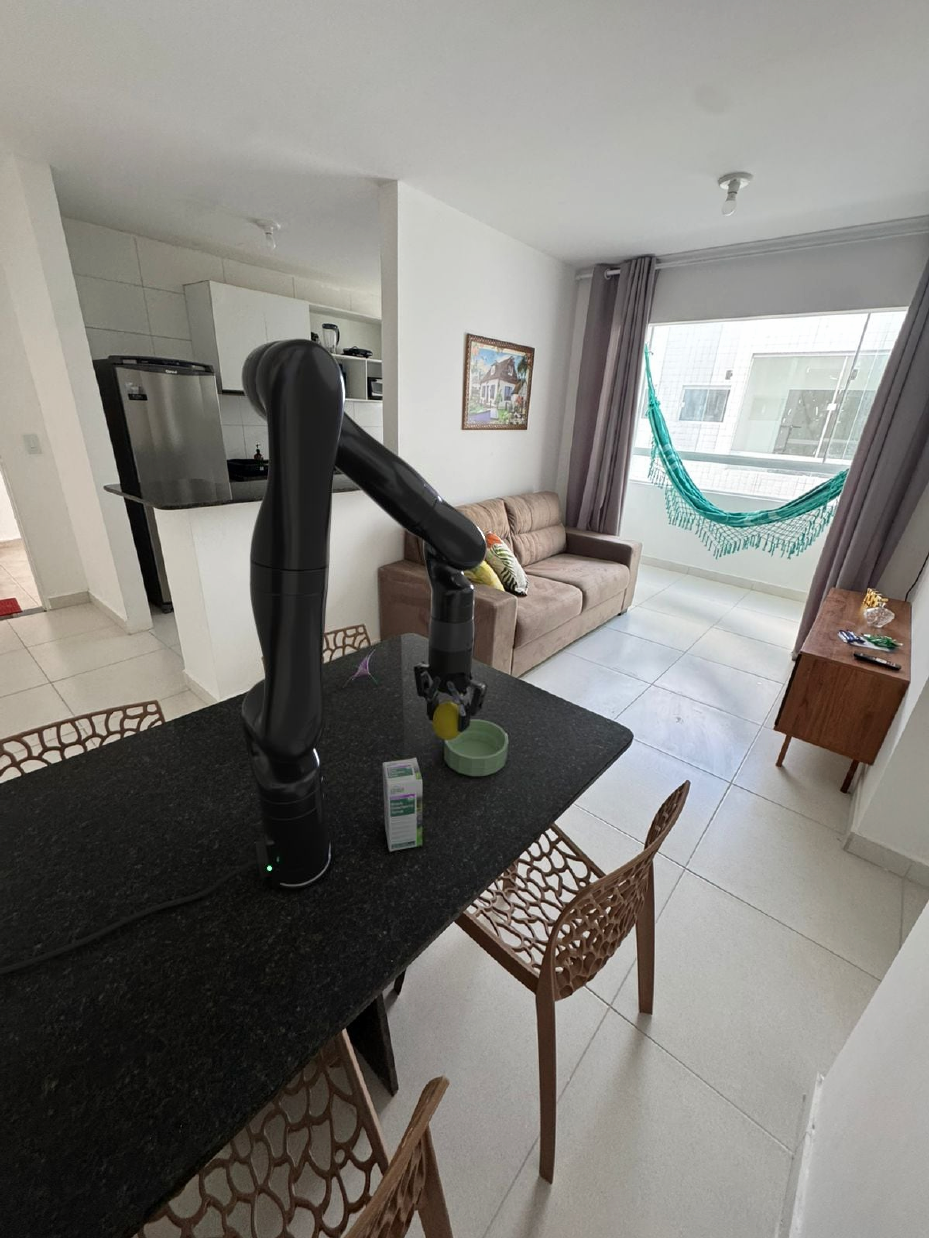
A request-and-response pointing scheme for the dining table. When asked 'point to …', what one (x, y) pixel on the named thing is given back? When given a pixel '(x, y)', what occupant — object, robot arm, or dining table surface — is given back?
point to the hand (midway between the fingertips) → (448, 723)
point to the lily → (363, 669)
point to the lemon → (446, 720)
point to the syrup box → (402, 803)
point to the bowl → (477, 749)
